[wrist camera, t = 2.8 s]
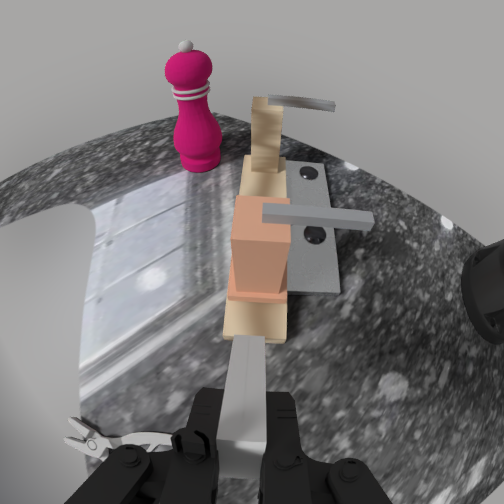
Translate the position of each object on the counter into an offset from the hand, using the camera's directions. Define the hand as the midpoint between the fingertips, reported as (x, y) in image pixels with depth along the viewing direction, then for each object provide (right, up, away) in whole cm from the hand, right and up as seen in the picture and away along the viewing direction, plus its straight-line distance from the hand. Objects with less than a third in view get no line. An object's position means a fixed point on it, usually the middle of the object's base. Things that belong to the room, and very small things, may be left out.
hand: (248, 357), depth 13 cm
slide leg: (+3, +2, +14) cm, 15 cm away
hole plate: (+7, +10, +22) cm, 25 cm away
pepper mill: (-8, +20, +28) cm, 35 cm away
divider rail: (+4, +7, +20) cm, 22 cm away
